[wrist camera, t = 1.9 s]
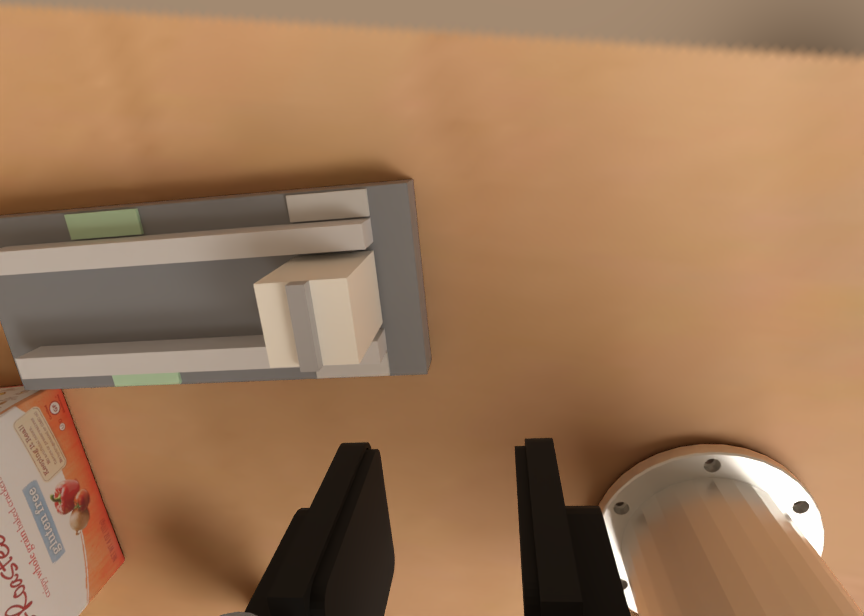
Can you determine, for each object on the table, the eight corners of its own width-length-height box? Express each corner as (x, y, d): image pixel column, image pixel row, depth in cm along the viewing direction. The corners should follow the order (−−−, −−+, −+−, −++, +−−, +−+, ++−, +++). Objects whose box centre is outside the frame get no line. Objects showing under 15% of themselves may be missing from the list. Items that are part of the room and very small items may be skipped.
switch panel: (431, 359, 31) (423, 389, 27) (50, 375, 34) (-2, 405, 31) (413, 178, 28) (400, 186, 24) (-3, 215, 31) (-68, 227, 28)
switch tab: (382, 322, 28) (355, 370, 23) (308, 326, 29) (264, 373, 23) (373, 250, 27) (342, 281, 22) (296, 255, 28) (247, 287, 22)
